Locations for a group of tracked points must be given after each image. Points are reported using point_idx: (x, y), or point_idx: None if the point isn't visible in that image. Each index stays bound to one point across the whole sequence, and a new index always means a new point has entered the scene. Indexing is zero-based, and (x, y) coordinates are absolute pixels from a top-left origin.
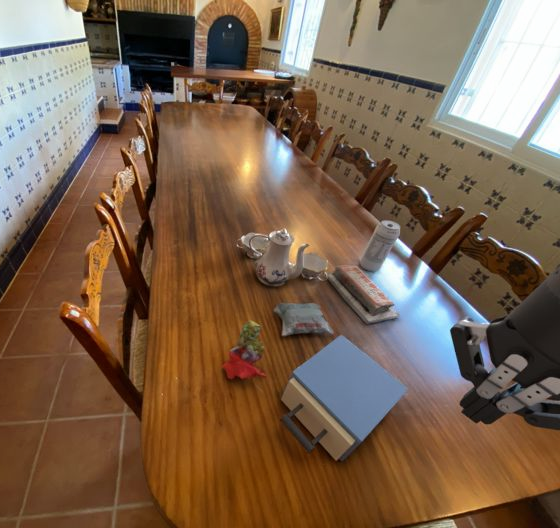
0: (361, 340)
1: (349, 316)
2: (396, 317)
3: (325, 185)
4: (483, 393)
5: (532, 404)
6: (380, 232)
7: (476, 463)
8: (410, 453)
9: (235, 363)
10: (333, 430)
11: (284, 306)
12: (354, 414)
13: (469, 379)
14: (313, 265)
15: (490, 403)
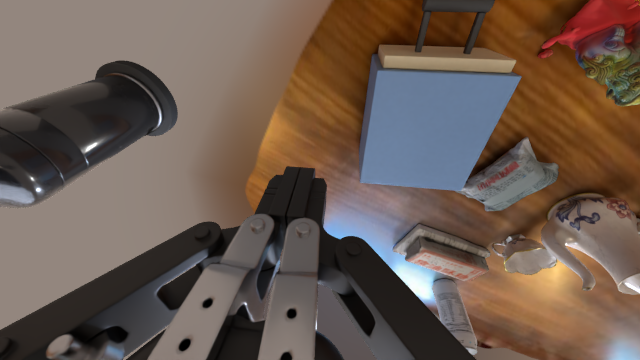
0: (415, 203)
1: (439, 221)
2: (394, 247)
3: (537, 353)
4: (303, 228)
5: (197, 282)
6: (469, 336)
7: (282, 166)
8: (322, 129)
9: (622, 11)
10: (413, 54)
11: (549, 178)
12: (401, 98)
13: (344, 242)
14: (517, 256)
15: (283, 215)
